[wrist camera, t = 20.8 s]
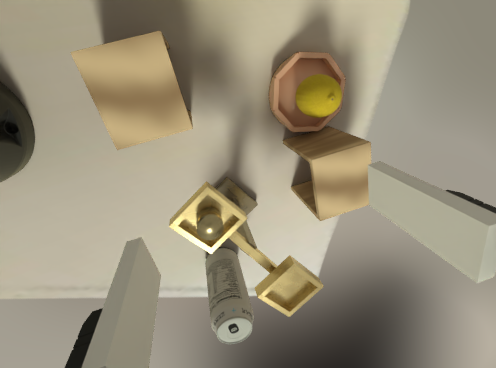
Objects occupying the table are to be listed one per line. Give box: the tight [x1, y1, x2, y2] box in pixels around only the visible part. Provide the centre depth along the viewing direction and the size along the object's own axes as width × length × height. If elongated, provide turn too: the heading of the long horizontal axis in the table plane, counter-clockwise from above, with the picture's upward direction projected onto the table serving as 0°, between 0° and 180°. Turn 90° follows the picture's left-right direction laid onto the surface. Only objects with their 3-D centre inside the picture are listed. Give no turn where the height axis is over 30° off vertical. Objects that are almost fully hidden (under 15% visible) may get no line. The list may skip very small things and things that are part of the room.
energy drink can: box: [205, 248, 254, 344], centre depth 41 cm, size 6×6×15 cm
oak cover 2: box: [283, 126, 371, 221], centre depth 39 cm, size 9×8×11 cm
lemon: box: [296, 74, 342, 118], centre depth 35 cm, size 6×6×8 cm
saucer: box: [269, 52, 346, 132], centre depth 38 cm, size 11×11×2 cm
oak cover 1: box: [70, 31, 193, 150], centre depth 30 cm, size 9×8×11 cm
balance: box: [169, 177, 324, 317], centre depth 36 cm, size 19×6×17 cm, turn 44°
